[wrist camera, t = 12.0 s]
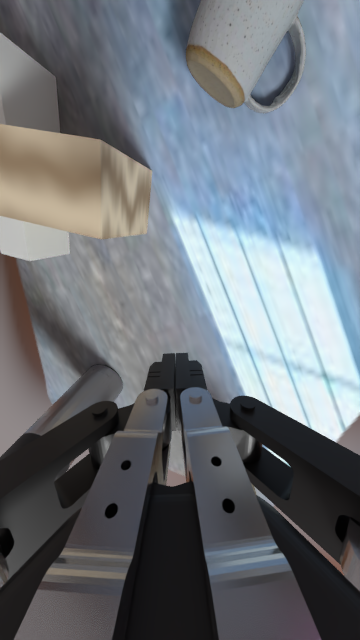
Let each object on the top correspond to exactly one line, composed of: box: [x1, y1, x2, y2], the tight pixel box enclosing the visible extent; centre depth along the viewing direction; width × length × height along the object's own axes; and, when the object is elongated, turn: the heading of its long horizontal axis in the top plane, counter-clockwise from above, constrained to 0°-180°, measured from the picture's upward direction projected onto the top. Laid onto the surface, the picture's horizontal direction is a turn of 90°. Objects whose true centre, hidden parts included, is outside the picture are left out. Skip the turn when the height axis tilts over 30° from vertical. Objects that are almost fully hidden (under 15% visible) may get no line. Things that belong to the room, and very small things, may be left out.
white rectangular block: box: [0, 33, 70, 261], centre depth 28 cm, size 22×5×8 cm, turn 171°
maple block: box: [0, 124, 152, 239], centre depth 25 cm, size 8×14×12 cm, turn 81°
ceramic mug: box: [186, 0, 306, 113], centre depth 18 cm, size 11×8×8 cm
